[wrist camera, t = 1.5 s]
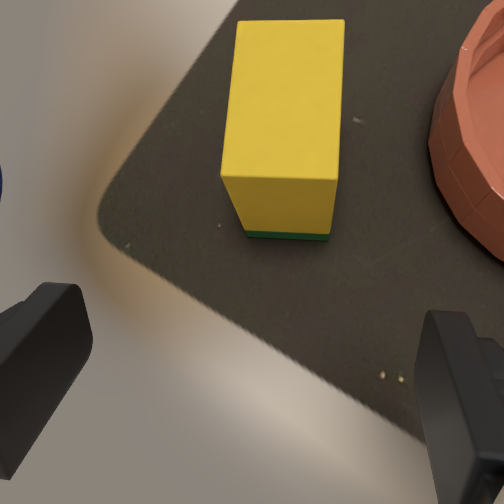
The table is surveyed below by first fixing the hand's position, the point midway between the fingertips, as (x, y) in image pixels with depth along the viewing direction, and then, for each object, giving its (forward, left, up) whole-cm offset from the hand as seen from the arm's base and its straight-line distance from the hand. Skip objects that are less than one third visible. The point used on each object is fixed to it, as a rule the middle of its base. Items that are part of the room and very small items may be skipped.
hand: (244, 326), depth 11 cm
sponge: (-7, +7, -13) cm, 16 cm away
